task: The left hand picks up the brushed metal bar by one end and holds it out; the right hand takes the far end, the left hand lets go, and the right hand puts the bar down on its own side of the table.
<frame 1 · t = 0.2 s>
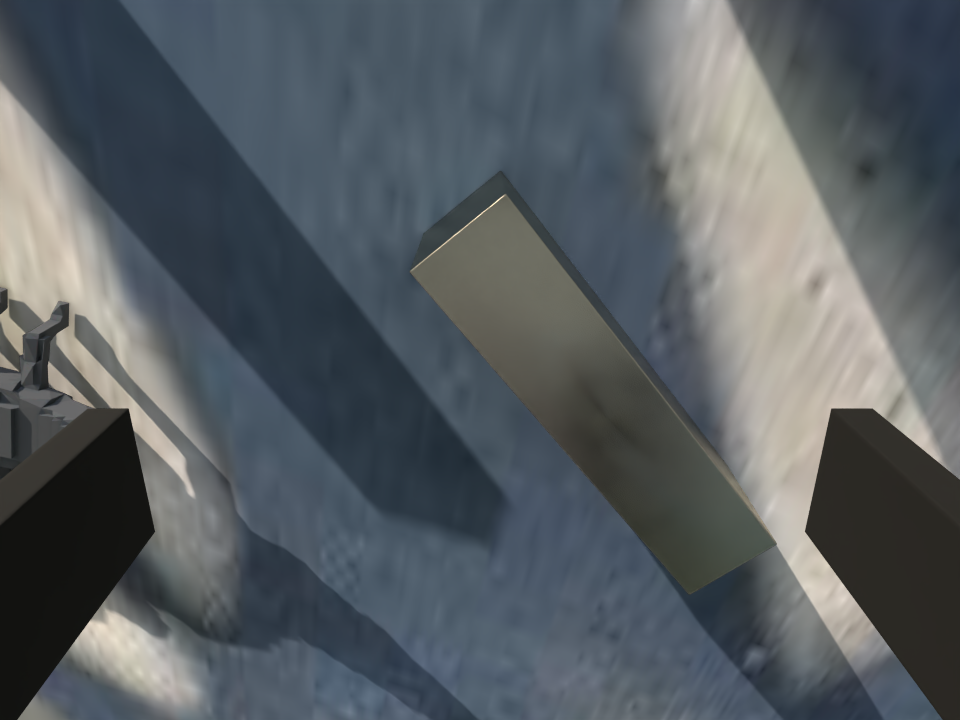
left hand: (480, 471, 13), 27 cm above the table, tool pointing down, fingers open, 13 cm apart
bar: (585, 357, 41), on the table
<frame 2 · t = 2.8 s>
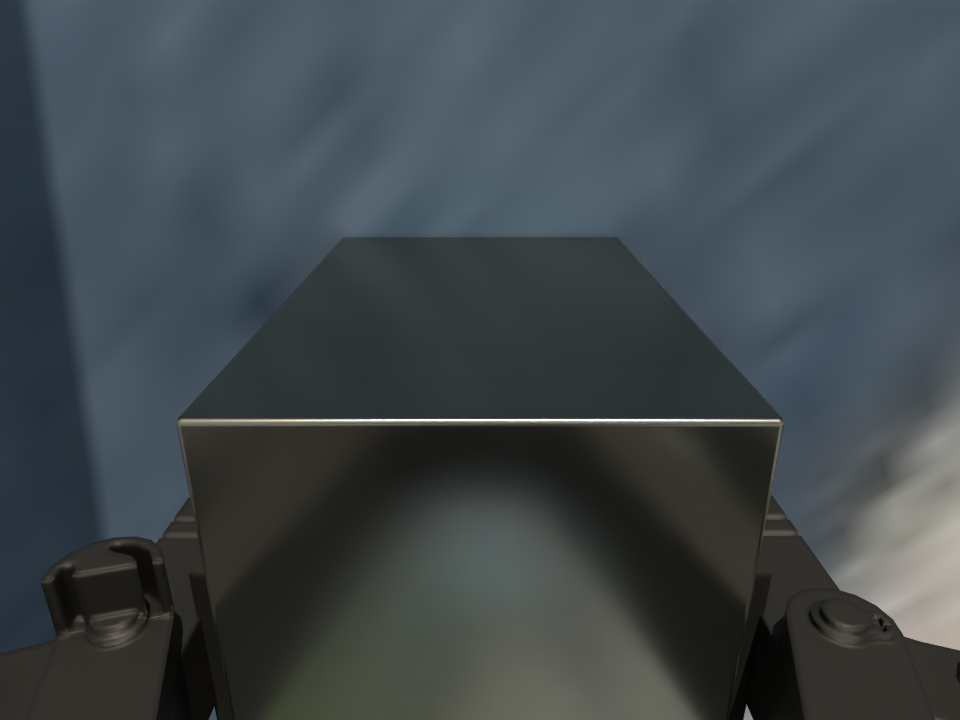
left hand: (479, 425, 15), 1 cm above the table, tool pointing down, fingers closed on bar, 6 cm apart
bar: (480, 680, 18), on the table, touching left hand
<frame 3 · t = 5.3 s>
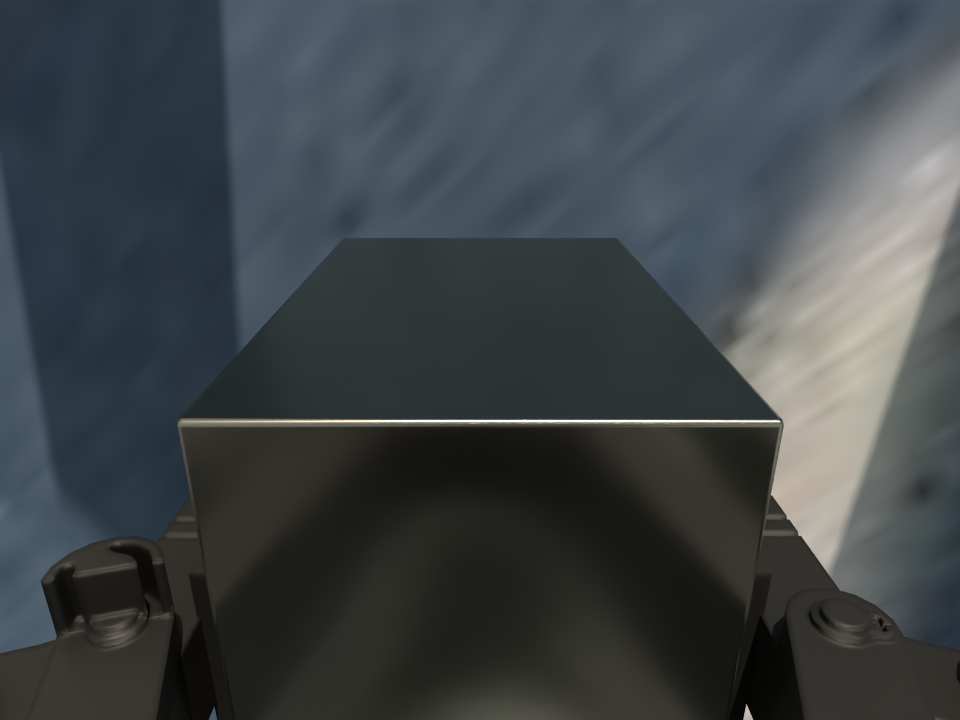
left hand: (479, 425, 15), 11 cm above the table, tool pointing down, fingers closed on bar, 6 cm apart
bar: (480, 680, 18), point 10 cm above the table, touching left hand
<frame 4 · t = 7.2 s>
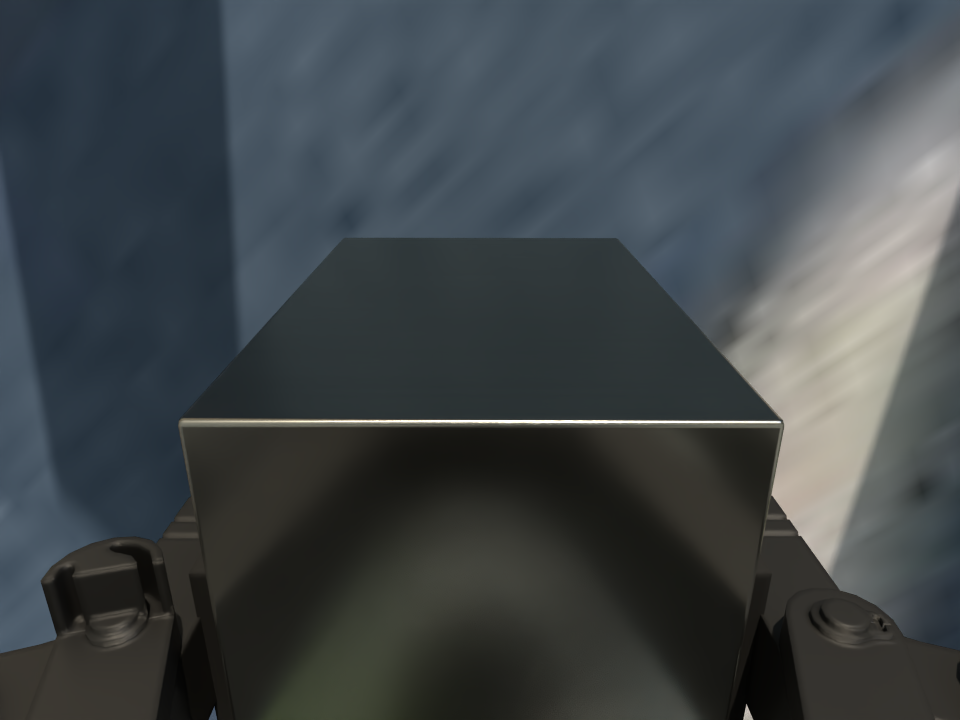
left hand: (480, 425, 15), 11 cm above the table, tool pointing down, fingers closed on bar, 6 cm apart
bar: (479, 680, 18), point 10 cm above the table, touching left hand, right hand
when the left hand's fingers open (11 cm above the table, at t = 7.8 s): bar stays where it is, held by the right hand.
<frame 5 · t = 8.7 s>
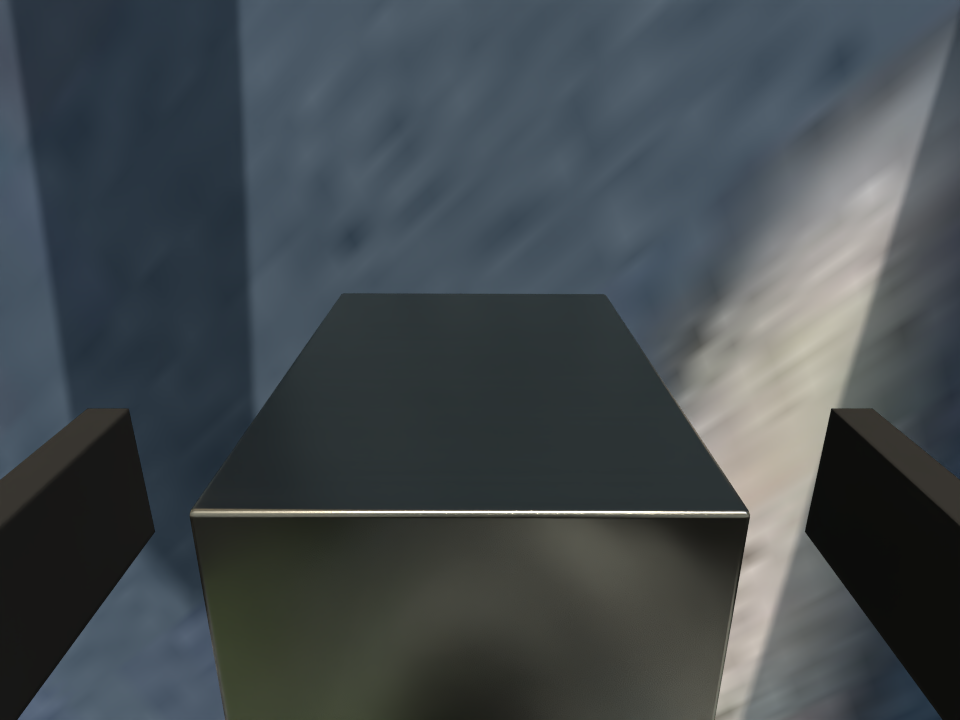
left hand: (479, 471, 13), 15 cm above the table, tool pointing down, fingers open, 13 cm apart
bar: (473, 715, 19), point 13 cm above the table, touching right hand
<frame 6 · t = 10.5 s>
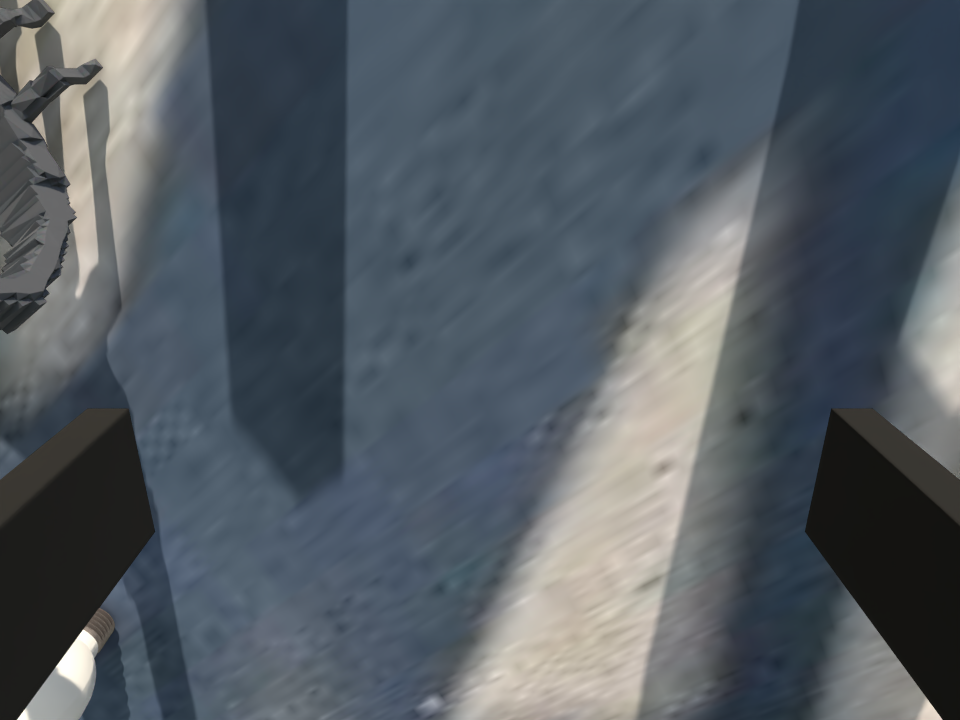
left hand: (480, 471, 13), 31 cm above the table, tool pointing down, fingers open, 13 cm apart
light bulb: (89, 621, 54), on the table
when the right hand's fingers open (2 cm above the table, at t = 14.1 s): bar drops 2 cm, on the table.
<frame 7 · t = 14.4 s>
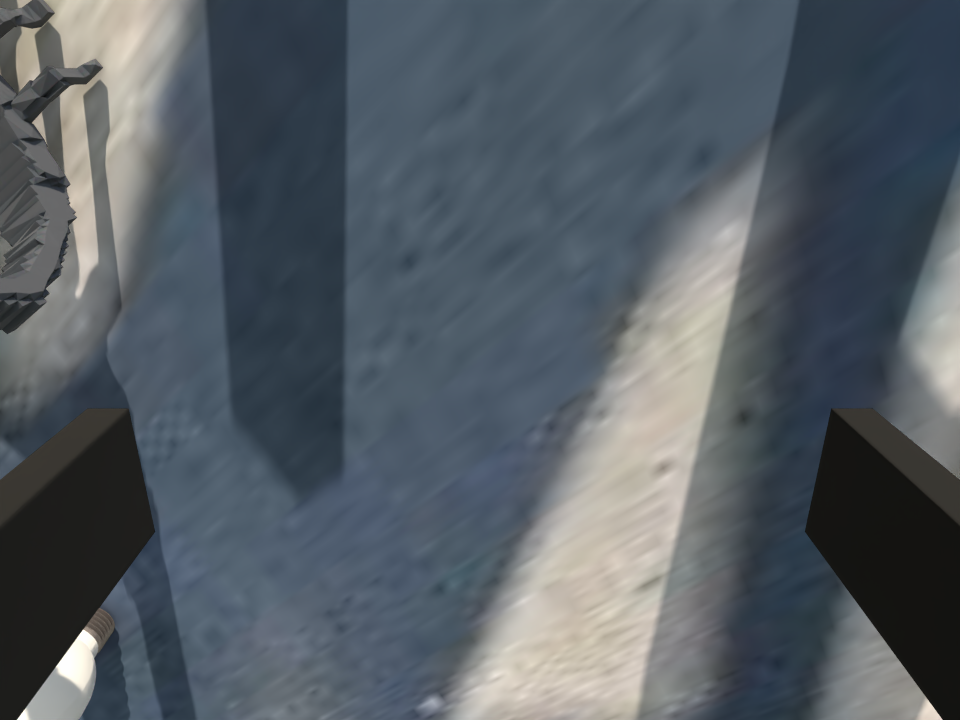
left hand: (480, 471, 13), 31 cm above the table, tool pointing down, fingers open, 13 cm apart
light bulb: (89, 621, 54), on the table
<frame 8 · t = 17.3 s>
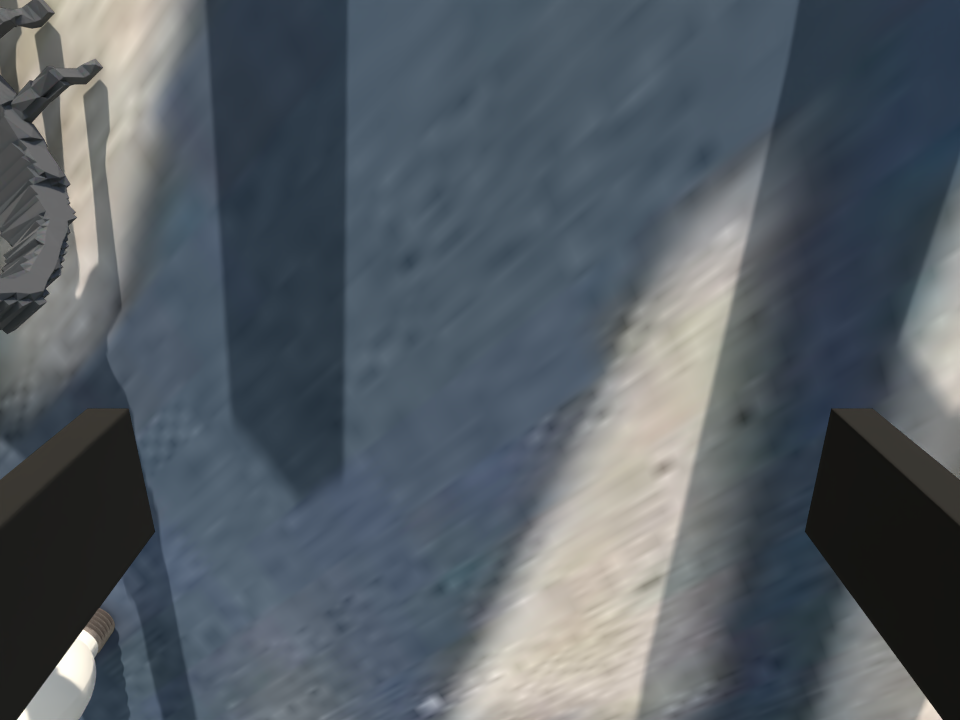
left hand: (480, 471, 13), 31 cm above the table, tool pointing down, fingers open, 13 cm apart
light bulb: (89, 621, 54), on the table
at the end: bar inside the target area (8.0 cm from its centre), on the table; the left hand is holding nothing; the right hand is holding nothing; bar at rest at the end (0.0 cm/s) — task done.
